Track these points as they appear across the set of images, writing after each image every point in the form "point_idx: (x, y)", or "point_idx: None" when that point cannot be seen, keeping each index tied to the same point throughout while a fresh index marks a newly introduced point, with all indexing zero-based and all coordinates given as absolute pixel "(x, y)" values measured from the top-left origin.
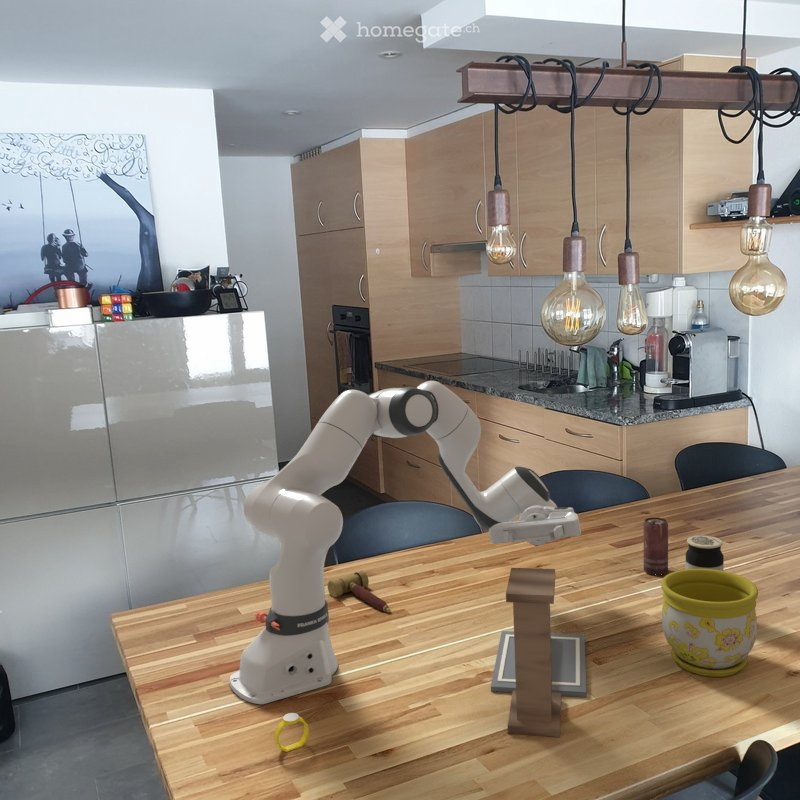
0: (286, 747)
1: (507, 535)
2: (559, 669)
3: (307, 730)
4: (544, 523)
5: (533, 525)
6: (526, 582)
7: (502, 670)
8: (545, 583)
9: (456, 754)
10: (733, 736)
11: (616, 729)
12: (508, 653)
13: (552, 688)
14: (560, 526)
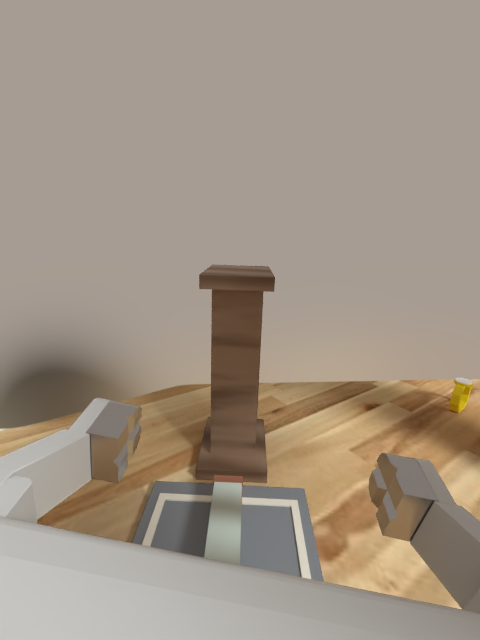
0: (461, 406)
1: (414, 458)
2: (183, 545)
3: (451, 399)
4: (115, 540)
5: (247, 569)
6: (245, 269)
7: (296, 531)
8: (219, 268)
9: (305, 407)
10: (16, 431)
11: (142, 436)
12: None
13: (206, 487)
14: (6, 455)
